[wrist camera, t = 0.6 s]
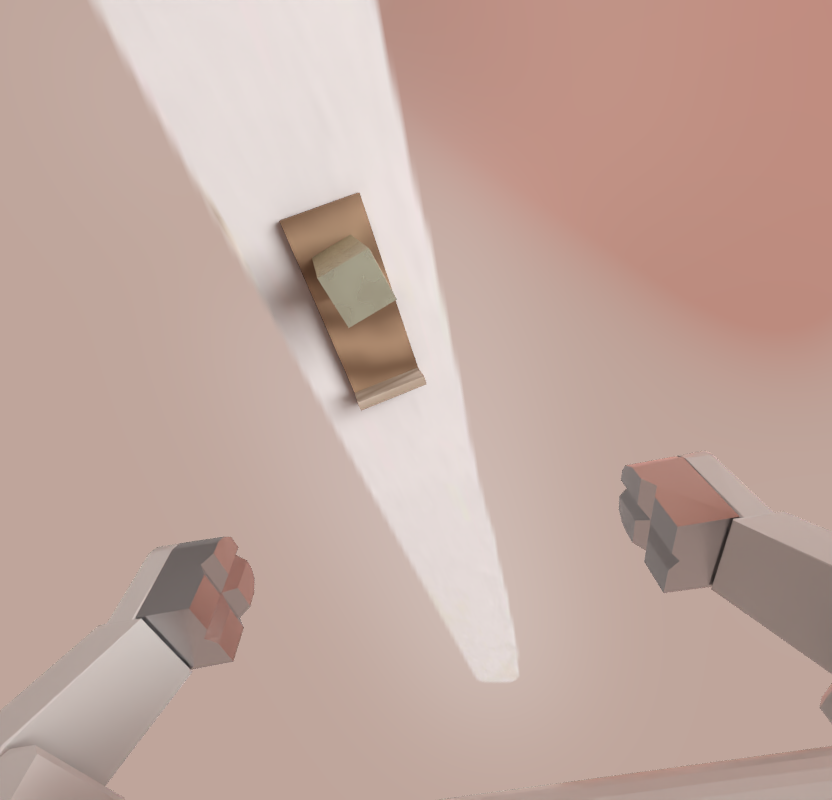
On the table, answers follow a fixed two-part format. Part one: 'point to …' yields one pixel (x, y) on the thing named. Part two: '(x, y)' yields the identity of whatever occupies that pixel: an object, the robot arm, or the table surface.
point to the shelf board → (373, 336)
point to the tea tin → (352, 280)
